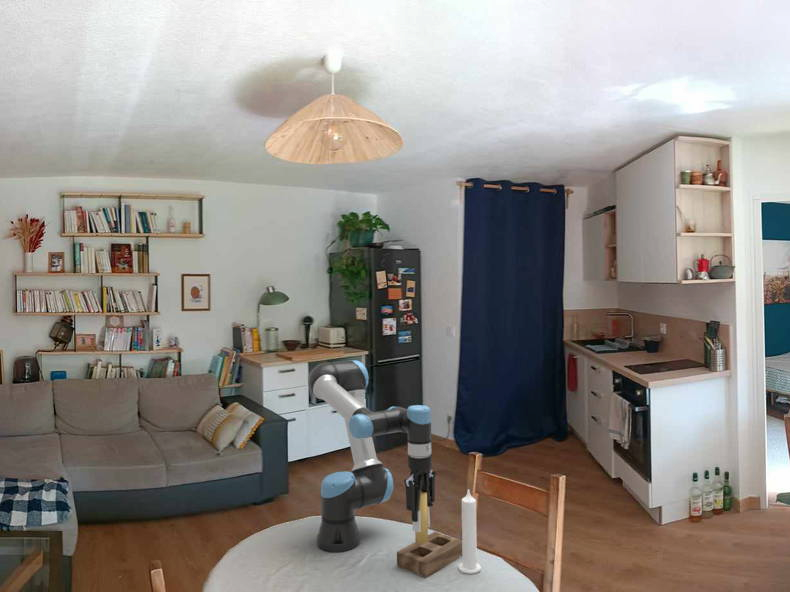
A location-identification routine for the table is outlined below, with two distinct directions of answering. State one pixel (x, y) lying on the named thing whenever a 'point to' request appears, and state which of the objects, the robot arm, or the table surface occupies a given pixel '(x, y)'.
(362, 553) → the table surface
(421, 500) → the peg
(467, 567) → the candle
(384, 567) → the table surface
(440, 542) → the socket block
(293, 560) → the table surface
